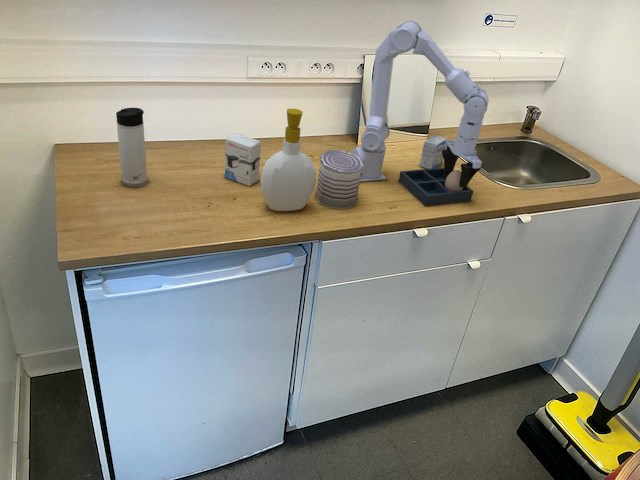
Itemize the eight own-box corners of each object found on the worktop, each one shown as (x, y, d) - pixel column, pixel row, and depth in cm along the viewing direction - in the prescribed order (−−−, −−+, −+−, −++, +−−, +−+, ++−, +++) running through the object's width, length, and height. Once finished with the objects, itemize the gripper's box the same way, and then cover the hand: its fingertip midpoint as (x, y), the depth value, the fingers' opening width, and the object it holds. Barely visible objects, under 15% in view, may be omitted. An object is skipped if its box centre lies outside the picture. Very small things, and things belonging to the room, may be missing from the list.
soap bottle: (307, 196, 148) (317, 103, 134) (316, 213, 141) (328, 116, 127) (254, 199, 143) (260, 103, 129) (262, 216, 136) (268, 117, 122)
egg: (461, 199, 155) (468, 176, 151) (442, 196, 155) (449, 173, 151) (460, 191, 159) (466, 168, 155) (442, 188, 160) (448, 165, 156)
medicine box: (431, 171, 171) (437, 145, 166) (418, 166, 173) (424, 140, 168) (442, 164, 176) (448, 139, 172) (430, 159, 178) (436, 134, 174)
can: (347, 187, 155) (353, 148, 148) (363, 207, 146) (371, 167, 140) (309, 190, 151) (314, 150, 144) (324, 211, 142) (330, 169, 135)
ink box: (223, 177, 152) (224, 138, 145) (234, 171, 155) (235, 132, 149) (249, 186, 149) (251, 146, 142) (259, 180, 152) (261, 141, 146)
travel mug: (141, 189, 141) (136, 115, 130) (117, 185, 141) (110, 110, 131) (152, 179, 146) (148, 107, 135) (129, 175, 147) (123, 103, 136)
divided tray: (425, 206, 150) (428, 195, 149) (398, 181, 162) (400, 171, 160) (470, 201, 156) (473, 191, 155) (441, 177, 168) (443, 167, 166)
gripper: (496, 145, 144) (481, 191, 151) (464, 125, 155) (452, 168, 162) (474, 147, 141) (461, 193, 149) (443, 125, 152) (432, 169, 159)
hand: (455, 180), depth 155 cm, fingers open, 7 cm apart
